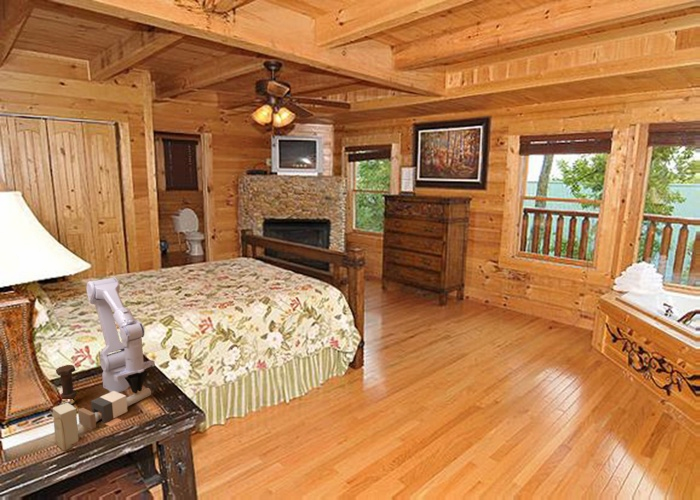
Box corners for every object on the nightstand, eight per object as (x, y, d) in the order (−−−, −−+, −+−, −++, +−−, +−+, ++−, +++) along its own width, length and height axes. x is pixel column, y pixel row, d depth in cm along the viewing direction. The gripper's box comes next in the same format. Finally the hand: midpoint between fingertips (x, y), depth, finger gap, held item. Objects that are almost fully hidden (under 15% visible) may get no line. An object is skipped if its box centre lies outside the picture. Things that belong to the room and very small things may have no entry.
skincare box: (55, 444, 127) (51, 407, 125) (71, 436, 131) (67, 401, 129) (64, 451, 123) (59, 414, 121) (80, 444, 127) (76, 408, 125)
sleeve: (101, 412, 142) (99, 397, 141) (115, 406, 147) (113, 390, 146) (113, 418, 139) (111, 402, 138) (127, 411, 143) (126, 395, 142)
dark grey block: (92, 417, 140) (90, 401, 139) (101, 412, 142) (99, 397, 141) (104, 422, 136) (103, 406, 135) (113, 418, 139) (112, 402, 138)
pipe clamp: (65, 425, 137) (63, 409, 136) (137, 391, 159) (136, 376, 158) (93, 440, 129) (92, 422, 128) (165, 402, 152) (164, 387, 151)
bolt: (68, 412, 144) (64, 372, 142) (56, 410, 145) (52, 370, 143) (82, 403, 150) (78, 365, 148) (70, 401, 151) (66, 363, 149)
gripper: (121, 366, 139) (124, 403, 142) (159, 351, 152) (161, 385, 154) (109, 362, 143) (112, 398, 145) (146, 347, 155) (149, 381, 157)
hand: (136, 391), depth 150 cm, fingers closed
